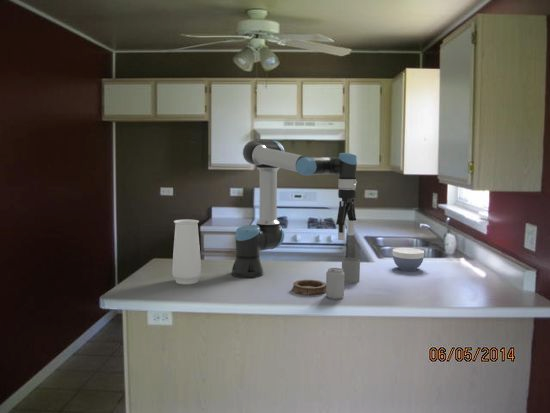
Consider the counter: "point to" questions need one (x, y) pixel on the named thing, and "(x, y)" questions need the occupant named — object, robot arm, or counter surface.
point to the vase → (186, 252)
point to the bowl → (408, 258)
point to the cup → (351, 270)
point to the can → (335, 283)
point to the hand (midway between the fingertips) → (346, 237)
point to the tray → (309, 287)
